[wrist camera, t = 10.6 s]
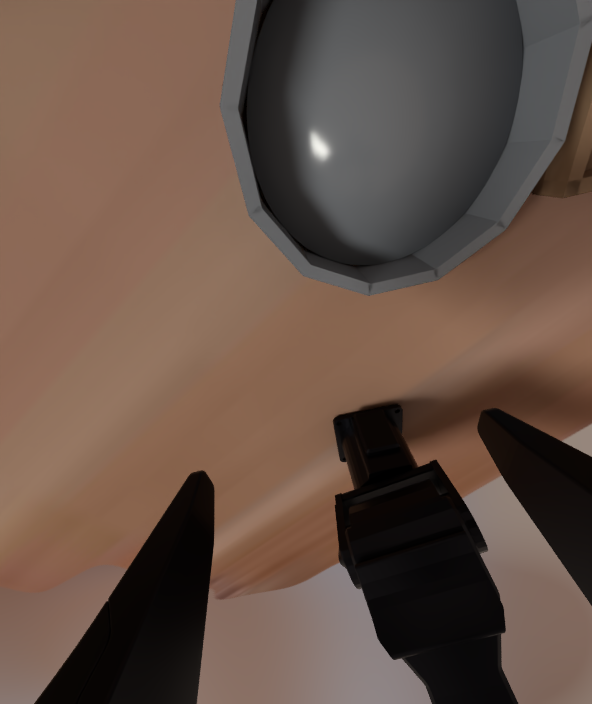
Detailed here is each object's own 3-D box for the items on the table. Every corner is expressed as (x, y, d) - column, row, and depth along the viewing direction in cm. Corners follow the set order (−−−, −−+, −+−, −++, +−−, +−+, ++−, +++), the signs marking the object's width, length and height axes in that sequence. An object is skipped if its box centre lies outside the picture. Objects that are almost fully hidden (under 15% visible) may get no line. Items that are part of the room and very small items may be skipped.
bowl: (495, 244, 20) (533, 258, 17) (273, 295, 20) (275, 316, 17) (573, -168, 11) (677, -277, 8) (180, -65, 11) (155, -137, 9)
